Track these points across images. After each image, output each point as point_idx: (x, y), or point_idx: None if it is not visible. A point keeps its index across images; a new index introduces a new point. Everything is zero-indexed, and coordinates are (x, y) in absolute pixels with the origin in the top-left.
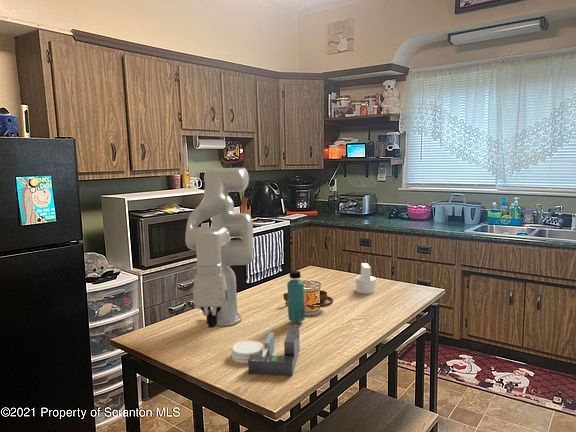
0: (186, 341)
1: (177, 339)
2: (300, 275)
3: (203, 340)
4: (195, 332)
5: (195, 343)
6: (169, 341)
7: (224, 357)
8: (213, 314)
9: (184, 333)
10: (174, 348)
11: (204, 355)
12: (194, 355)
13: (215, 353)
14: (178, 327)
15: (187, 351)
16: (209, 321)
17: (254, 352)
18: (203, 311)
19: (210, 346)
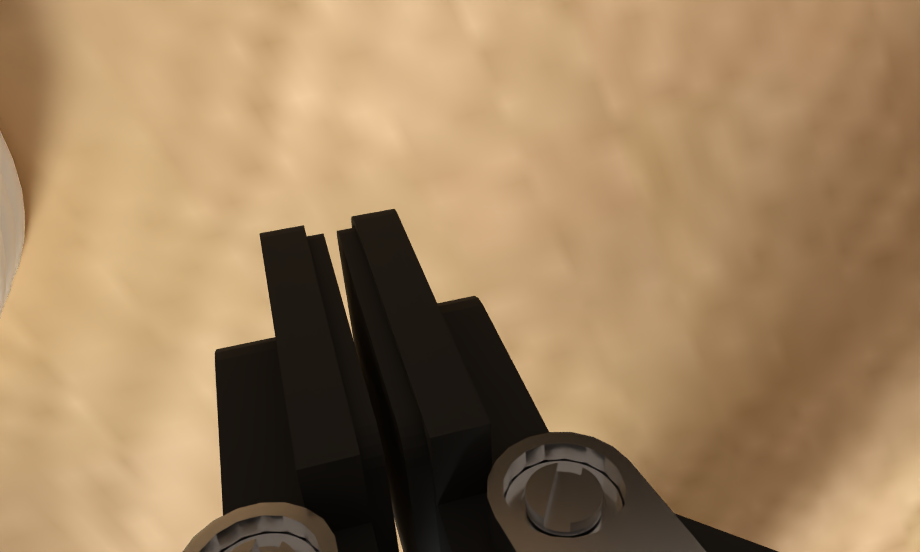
0: (745, 314)
1: (842, 323)
2: None
3: (579, 383)
4: (710, 486)
5: (640, 304)
6: (910, 264)
7: (100, 71)
8: (289, 545)
9: (805, 439)
10: (831, 139)
11: (417, 60)
12: (548, 28)
13: (296, 149)
14: (879, 506)
15: (668, 109)
16: (389, 308)
17: None
18: (731, 543)
19: (446, 292)
